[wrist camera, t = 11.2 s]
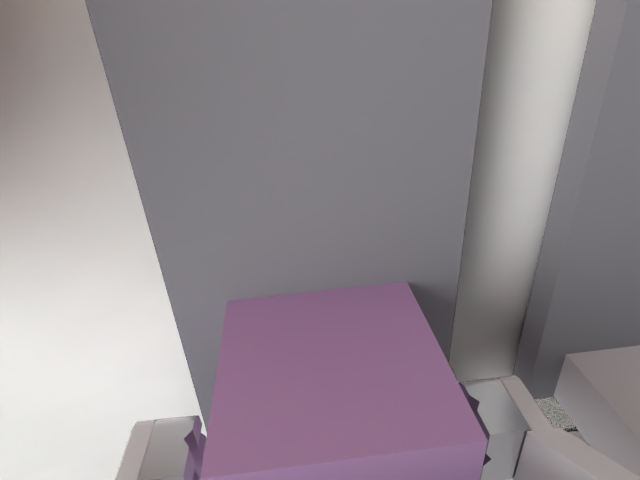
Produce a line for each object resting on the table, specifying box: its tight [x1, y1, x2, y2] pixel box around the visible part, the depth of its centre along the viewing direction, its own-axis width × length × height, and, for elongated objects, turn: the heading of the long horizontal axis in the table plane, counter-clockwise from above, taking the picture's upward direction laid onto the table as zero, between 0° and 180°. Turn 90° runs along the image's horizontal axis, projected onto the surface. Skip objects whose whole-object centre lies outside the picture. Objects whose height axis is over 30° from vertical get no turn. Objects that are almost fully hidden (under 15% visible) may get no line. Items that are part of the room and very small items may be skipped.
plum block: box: [200, 282, 488, 480], centre depth 11 cm, size 5×5×5 cm
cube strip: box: [85, 0, 493, 431], centre depth 12 cm, size 24×8×5 cm, turn 3°
